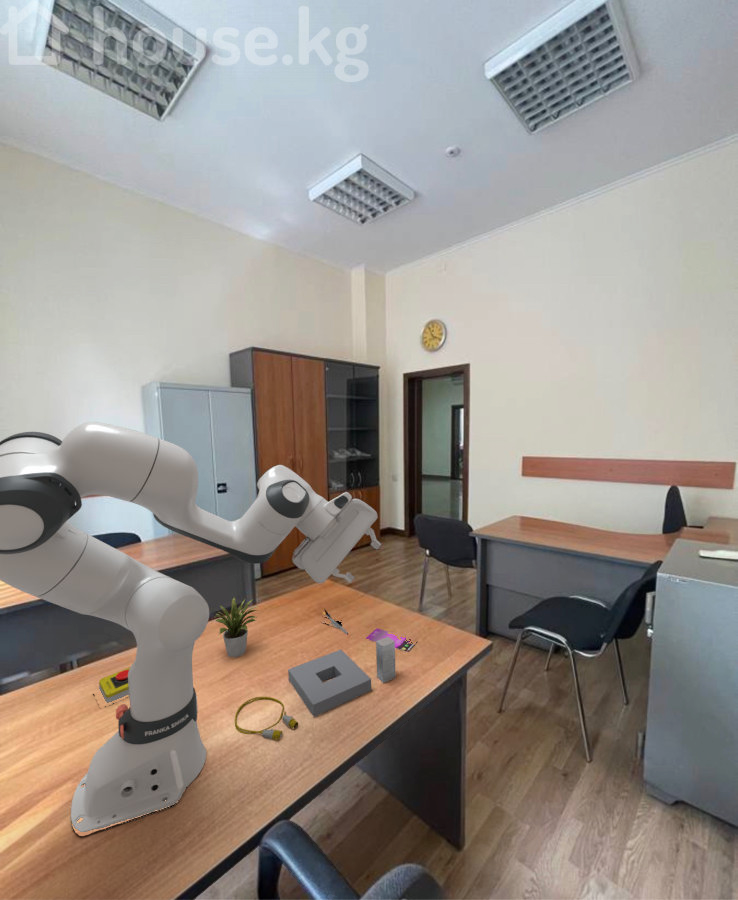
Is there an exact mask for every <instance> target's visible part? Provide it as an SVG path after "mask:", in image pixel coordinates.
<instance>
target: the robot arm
mask: <svg viewBox="0 0 738 900" xmlns="http://www.w3.org/2000/svg"><path fill="white" fill-rule="evenodd" d="M198 472H199V471H198V467H197V464H196V462H195V459H194V458H193V457H192V455H191V454H190V453H189V452H188V451H187V450H186V449H184V448H183V447H182V446H180V445H178V444H176V443H175V444H174V443H172V442H171V441H170V442H169V441H167V440H165V439H162V438H159V437H157V436H154V435H151V434H147V433H145V432H142V431H138V430H135V429H131V428H127V427H125V426H119V425H114V424H111V423H103V422H97V421H87V422H84V423H81V424H79V425H77V426H76V427H74V428H72V430H71V431H70V432H69V433H67V435H65V437H64V438H63V440H62V439H60V438H59V437H56V436H54V435H52V434H50V433H45V432H40V431H24V432H19V433H15V434H12V435H10V436H8V437H6V438H4V439H2V440H1V441H0V582H3V583H4V584H6V585H8V586H10V587H12V588H14V589H17V590H18V591H21V592H23V593H25V594H28V595H30V596H33V597H36V598H38V599H41V600H44V601H45V602H48V603H51V604H54V605H57V606H58V607H62V608H65V609H68V610H70V611H72V612H75V613H77V614H81V615H87V616H91V617H96V618H98V619H99V618H100V619H103V620H107V621H110V622H113V623H114V624H115V623H116V624H117V625H119V626H122V627H123V628H125V629H126V630H128V631H130V632H132V634H133V636H134V638H135V642H136V653H135V660H134V661H133V663H132V664H131V665H130V669H129V672H128V685H129V697H128V698H129V707H128V705H126V704H123V703H122V704H120V705H118V706H117V708H116V709H115V719H116V720H118V723H117V724H118V730H117V731H116V733H115V734H114V735H112V737H110V738H109V739H108V740H107V741H106V742H105V743H104V744H103V745H102V746H100V747H99V749H97V751H96V752H95V753H94V755H93V757H92V759H91V762H90V764H89V766H88V771H87V772H86V773H85V775H84V776H83V777H82V778H81V780H80V782H79V783H78V784H77V787H76V788H75V791H74V792H73V793H74V794H73V796H72V800H71V804H70V805H71V808H70V822H71V821H72V824H73V826H74V828H75V829H77V830H78V831H80V832H87V831H90V830H94V829H100V828H104V827H107V826H110V825H111V824H115V823H118V822H121V821H125V820H127V819H132V818H135V817H138V816H141V815H144V814H147V813H151V812H154V811H155V810H160V809H162V808H165V807H166V809H168V808H167V807H168V806H171V805H174V804H175V803H176V802H177V801H178V800H179V799H181V798H182V797H183V795H182V794H184V793H185V791H186V789H187V788H188V786H190V784H191V783H193V781H194V780H196V778H197V777H198V775H199V774H200V772H201V771H202V770H203V767H204V766H205V762H206V759H207V750H206V748H205V745H204V744H203V741H202V738H201V734H200V730H199V727H198V711H199V710H198V709H199V707H198V706H199V705H198V696H197V692H196V689H195V687H194V677H193V651H194V646H195V642H197V640H199V638H200V637H201V636H202V634H203V633H204V631H205V630H206V628H207V626H208V623H209V619H210V609H209V603H208V602H207V601H206V599H205V598H204V597H203V595H201V594H200V593H199V592H198V591H197V590H196V589H195V588H194V587H192V586H190V585H187V584H186V583H183V582H181V581H179V580H176V579H174V578H172V577H171V576H169V575H165V574H164V573H162V572H159V571H158V570H155V569H153V568H151V567H149V566H147V564H144V563H142V562H141V561H139V560H137V559H136V558H133V557H131V556H130V555H129V554H127V553H125V552H123V551H121V550H119V549H117V548H115V547H113V546H111V545H110V544H107V543H105V542H103V541H102V540H100V539H98V538H96V537H94V536H92V535H90V534H88V533H86V532H85V531H82V530H80V529H78V528H77V527H74V526H73V525H70V524H69V523H67V521H68V520H69V519H71V518H72V517H73V516H74V515H76V514H77V512H79V511H80V510H81V508H82V505H83V503H82V498H84V497H85V498H86V497H88V496H93V495H95V496H97V495H98V496H105V497H111V498H113V499H118V500H122V501H125V502H129V503H132V504H135V505H138V506H141V507H143V508H145V509H147V510H148V511H149V512H152V515H153V518H154V520H155V521H156V522H157V523H158V524H160V525H161V526H162V527H164V528H166V529H168V530H170V531H172V532H174V533H176V534H179V535H182V536H184V537H187V538H190V539H191V540H195V541H196V542H200V543H203V544H205V545H208V546H211V547H213V548H215V549H218V550H221V551H224V552H225V553H228V554H230V555H231V556H233V557H234V558H235V559H238V560H239V561H241V562H244V563H246V564H253V565H254V564H256V565H257V564H262V563H265V562H267V561H269V559H270V558H271V557H272V556H273V554H274V553H275V551H276V550H277V549H278V547H279V545H280V544H282V542H283V541H284V540H285V539H286V538H287V536H288V535H289V534H290V533H291V532H292V530H293V529H294V528H297V530H299V531H300V532H301V533H302V534H303V535H304V536H305V538H304V539H303V541H301V543H300V544H299V546H298V547H296V548H295V549H294V551H293V552H292V554H293V555H292V557H291V558H292V560H291V561H292V563H293V564H294V565H295V566H296V567H297V568H298V569H300V570H303V571H304V570H305V571H306V573H307V575H309V577H310V578H311V579H312V580H313V581H314V582H315V583H316V584H324V583H325V582H326V580H327V579H328V578H329V577H330V576H331V575H333V576H334V577H338V578H341V579H345V580H346V581H347V582H348V583H350V584H351V583H352V582H353V581H354V579H355V576H354V575H352V573H351V572H349V571H348V572H346V574H343V573H340V570H339V568H337V567H338V566H339V565H340V564H341V563H342V561H343V560H344V559H345V558H346V557H347V556H348V554H349V553H350V552H351V550H352V549H353V548H354V547H355V546H356V544H357V543H358V542H360V540H361V539H362V538H363V536H364V535H366V536H370V539H371V542H370V546H372V547H373V548H374V550H378V549H379V548H381V546H382V543H381V542H380V541H379V540H378V539H377V536H376V534H375V530H374V529H373V528H372V525H373V524H374V523H375V522H376V521H377V519H378V518H379V516H378V513H377V511H376V510H375V509H374V508H373V507H372V506H370V505H369V504H367V503H366V502H365V501H363V500H362V499H359V498H353V496H352V495H351V494H350V493H349V492H348V491H345V492H343V493H342V494H340V495H338V496H337V497H333V498H332V499H331V500H329V501H328V500H326V499H325V498H324V497H323V496H321V495H319V494H318V493H316V491H314V489H313V488H312V487H311V485H310V484H309V483H308V482H307V481H306V480H305V479H304V478H302V477H301V476H299V475H298V474H297V473H296V472H294V471H293V470H292V469H291V468H289V467H287V466H285V465H283V464H277V465H274V466H272V467H269V468H268V470H266V471H265V472H264V473H263V474H262V475H261V476H260V477H259V479H258V481H257V483H256V487H257V488H258V490H259V491H258V494H257V496H256V498H255V500H254V501H253V503H252V504H251V505H250V507H248V509H247V510H246V511H245V512H244V514H242V516H241V517H240V518H238V519H235V520H231V521H230V520H228V519H225V518H222V517H221V516H218V515H216V514H214V513H211V512H209V511H207V510H205V509H203V508H201V507H199V506H198V505H197V503H196V500H197V498H196V497H197V494H198V487H199V485H198V484H199V473H198ZM84 784H85V786H83V787H81V786H82V785H84ZM186 787H187V788H186ZM184 790H185V791H184ZM183 792H184V793H183ZM181 796H182V797H181ZM165 800H166V801H165ZM179 801H180V800H179ZM179 801H178V802H179ZM178 802H177V803H178ZM175 805H176V804H175ZM175 805H174V806H175ZM160 811H161V810H160ZM80 818H83V820H82V821H81V822H79V823H77V821H78V820H79V819H80Z"/></svg>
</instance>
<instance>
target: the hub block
mask: <svg viewBox="0 0 738 900" xmlns="http://www.w3.org/2000/svg"><path fill="white" fill-rule="evenodd" d="M287 670H288V673H287V674H288V682H289V683H290V685H291V686H292V688H293V689H294V691H296V693H297V695H298V696H299V697H300V699H301V701H303V702H302V703H304V705H305V707H306V708H307V710H308V712H310V714H311V715H312V717H313V718H315V717H317V716H320V715H322V714H324V713H326V712H328V711H330V710H332V709H334V708H336V707H338V706H341V705H343V704H345V703H347V702H349V701H352V700H354V699H356V698H359V697H361V696H362V695H364V694H367V693H369V692H371V691H372V678H371V677H370V676H369V675H368V674H367V673H366V672H365V671H364V670H363V669H362V668H361V667H359V666H358V664H357V663H356V662H355V661H354V660H353V659H351V658H350V656H349V655H347V653H346V652H344V651H343V650H342V649H338V650H335V651H334V652H333V651H332V652H331V653H328V654H327V653H326V654H325V655H323V656H320V657H316V658H314V659H312V660H310V661H309V660H308V661H307V662H304V663H302V664H299V665H295V666H292V667H290V668H289V669H287Z"/></svg>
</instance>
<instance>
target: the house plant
mask: <svg viewBox="0 0 738 900" xmlns="http://www.w3.org/2000/svg"><path fill="white" fill-rule="evenodd" d="M245 600H246V598H244V600H243V601H242V602H241V604H240V605H239V606H237V605H238V604H237V602H236V598H235V597H233V598H232V599H231V607H230V609H231V610H230V612H229V611H228V609H226V608H225V607H223V606H222V605H219V608H220V609H221V610H222V612H223V613H222V612H221V611H218V613H219V614H218V613H215V618H216V617H219V618H217V619H215V622H217V623H221V624H223V626H226V627H220V628H219V633H218V634H219V635H221V634H222V633H223V634H222V638H223V641H224V647H225V650H226V654H227V657H229V658H231V657H236V658H239V657H241V655H242V656H243V655H245V653H246V650H247V641H248V634H249V633H248V632H249V630H248V627H247V624H249V623H252V622H253V623H254V622H257V620H256V618H257V616H254V615H249V616H247V615H248V614H251V613H253V612H257V611H258V609H255V608H259V607H260V605H259V606H258V605H257V606H254V607H250V608H249V609H248V607H249V605H250V604H251V603H252V602H253V599H251V600H249V601H248V602H247V603H246V604H245V605H244V603H245V602H246V601H245ZM243 605H244V606H243ZM237 607H238V608H237ZM220 614H221V615H220ZM246 616H247V617H246ZM219 635H218V636H219ZM238 656H239V657H238Z"/></svg>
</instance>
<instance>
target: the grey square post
mask: <svg viewBox="0 0 738 900" xmlns="http://www.w3.org/2000/svg"><path fill="white" fill-rule="evenodd" d="M375 645H376V646H375V652H376V653H375V654H376V655H375V656H376V678H377V679H378V680H379V681H380V682H381V683H382V684H386V683H387V682H390V681H391V680H394V679H396V677H397V675H396V648H395V641H393V640H392V639H391V638H390V637H386V638H383V639H381V640H378V641H376V642H375Z"/></svg>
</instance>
